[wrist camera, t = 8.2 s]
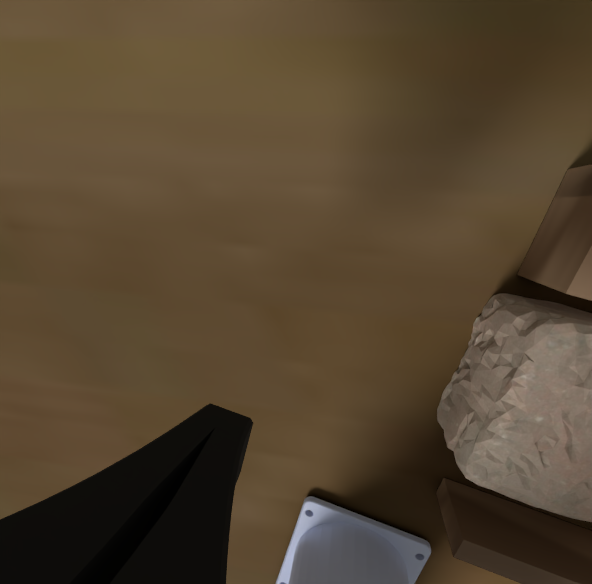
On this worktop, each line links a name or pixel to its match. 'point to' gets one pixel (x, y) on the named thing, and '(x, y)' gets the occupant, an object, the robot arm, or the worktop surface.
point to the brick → (525, 405)
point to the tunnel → (499, 512)
